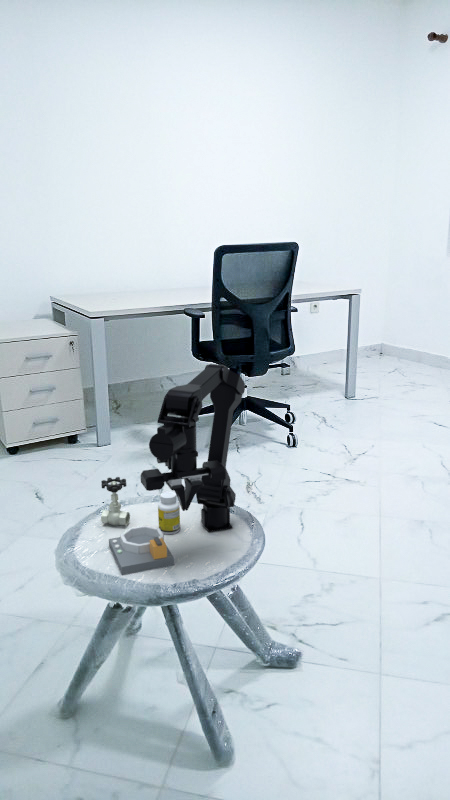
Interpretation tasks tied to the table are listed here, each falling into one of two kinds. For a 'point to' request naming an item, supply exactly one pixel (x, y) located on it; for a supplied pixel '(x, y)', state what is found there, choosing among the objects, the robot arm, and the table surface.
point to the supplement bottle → (169, 513)
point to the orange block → (158, 548)
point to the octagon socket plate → (138, 550)
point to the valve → (114, 504)
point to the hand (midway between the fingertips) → (184, 510)
